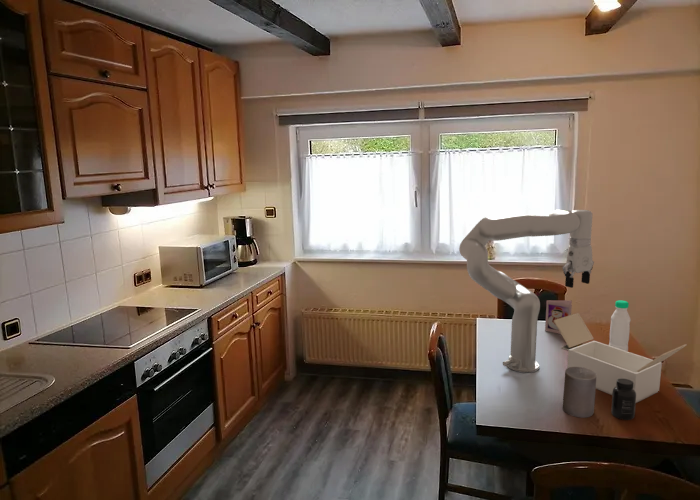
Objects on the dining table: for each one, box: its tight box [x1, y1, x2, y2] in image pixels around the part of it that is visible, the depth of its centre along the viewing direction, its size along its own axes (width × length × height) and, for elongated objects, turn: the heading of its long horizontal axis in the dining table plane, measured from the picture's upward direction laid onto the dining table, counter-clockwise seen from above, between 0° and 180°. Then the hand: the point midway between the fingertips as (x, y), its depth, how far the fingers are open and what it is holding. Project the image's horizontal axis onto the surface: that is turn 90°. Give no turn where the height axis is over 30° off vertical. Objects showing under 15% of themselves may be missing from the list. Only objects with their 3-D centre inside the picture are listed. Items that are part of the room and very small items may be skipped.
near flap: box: [637, 343, 688, 372], centre depth 175 cm, size 15×12×1 cm
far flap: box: [554, 312, 594, 348], centre depth 202 cm, size 15×12×1 cm
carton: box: [566, 340, 663, 404], centre depth 191 cm, size 16×26×11 cm, turn 32°
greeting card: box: [544, 299, 573, 335], centre depth 244 cm, size 11×7×15 cm, turn 50°
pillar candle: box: [562, 367, 597, 419], centre depth 172 cm, size 10×10×15 cm
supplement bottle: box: [610, 378, 637, 421], centre depth 169 cm, size 7×7×12 cm
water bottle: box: [608, 299, 631, 352], centre depth 210 cm, size 7×7×25 cm
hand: (577, 284), depth 203 cm, fingers open, 9 cm apart
